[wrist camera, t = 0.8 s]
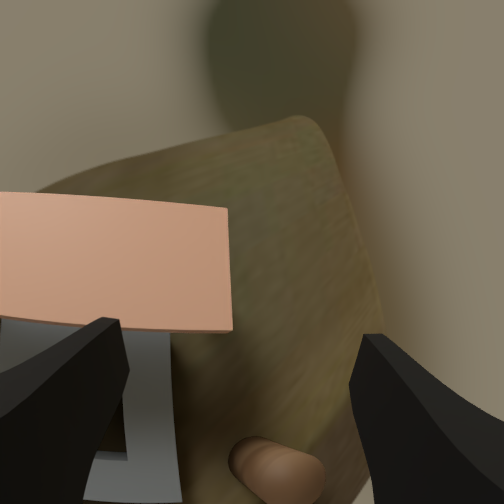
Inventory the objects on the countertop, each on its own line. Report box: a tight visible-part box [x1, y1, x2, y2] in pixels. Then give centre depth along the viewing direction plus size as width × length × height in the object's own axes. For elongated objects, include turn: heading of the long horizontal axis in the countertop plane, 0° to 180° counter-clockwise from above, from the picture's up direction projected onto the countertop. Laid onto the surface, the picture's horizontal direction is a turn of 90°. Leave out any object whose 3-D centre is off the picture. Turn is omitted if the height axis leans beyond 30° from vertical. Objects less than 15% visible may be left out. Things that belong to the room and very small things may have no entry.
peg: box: [228, 436, 326, 504], centre depth 17 cm, size 4×4×7 cm
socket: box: [0, 318, 182, 503], centre depth 17 cm, size 12×12×2 cm
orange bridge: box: [0, 192, 233, 333], centre depth 16 cm, size 6×18×10 cm, turn 95°
